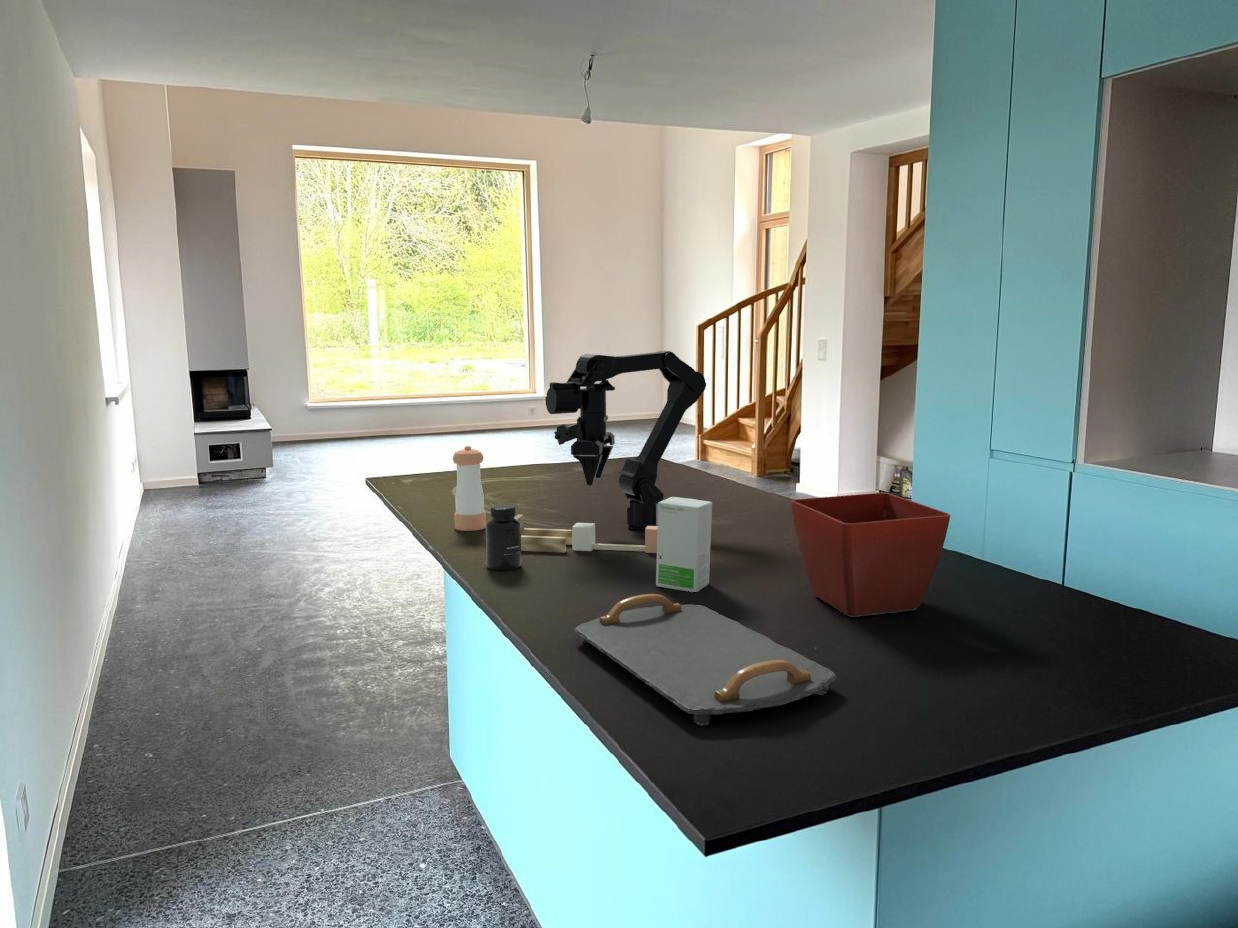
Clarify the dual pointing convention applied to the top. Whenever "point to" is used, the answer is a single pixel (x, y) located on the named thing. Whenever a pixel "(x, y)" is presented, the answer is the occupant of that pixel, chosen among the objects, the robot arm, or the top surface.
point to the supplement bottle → (503, 539)
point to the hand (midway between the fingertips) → (594, 481)
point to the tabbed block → (586, 542)
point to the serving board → (702, 658)
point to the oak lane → (544, 538)
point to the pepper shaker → (469, 491)
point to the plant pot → (869, 550)
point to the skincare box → (683, 544)
